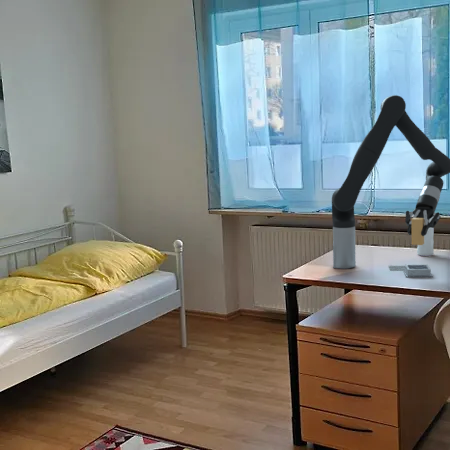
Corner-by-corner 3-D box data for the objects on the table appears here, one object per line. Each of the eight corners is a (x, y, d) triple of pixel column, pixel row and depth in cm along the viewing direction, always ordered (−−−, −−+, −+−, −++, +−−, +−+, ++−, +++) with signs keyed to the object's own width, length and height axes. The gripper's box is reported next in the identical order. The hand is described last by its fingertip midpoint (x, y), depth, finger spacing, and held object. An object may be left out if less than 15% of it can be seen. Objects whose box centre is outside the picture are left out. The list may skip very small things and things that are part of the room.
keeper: (405, 278, 248) (405, 269, 248) (403, 272, 258) (403, 264, 257) (432, 278, 246) (432, 269, 246) (429, 272, 256) (429, 264, 256)
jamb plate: (390, 271, 260) (390, 270, 260) (388, 266, 269) (388, 265, 269) (420, 271, 258) (420, 270, 258) (418, 266, 267) (418, 265, 267)
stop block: (411, 244, 250) (411, 219, 248) (413, 242, 253) (413, 217, 251) (422, 245, 248) (422, 219, 246) (424, 243, 251) (424, 217, 250)
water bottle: (434, 256, 285) (434, 200, 282) (417, 256, 287) (418, 200, 283) (432, 253, 292) (433, 198, 289) (416, 253, 294) (416, 198, 290)
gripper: (408, 193, 258) (395, 227, 250) (443, 194, 248) (431, 229, 241) (414, 204, 262) (401, 238, 255) (448, 206, 253) (436, 241, 246)
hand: (415, 234), depth 248 cm, fingers closed on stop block, 4 cm apart
